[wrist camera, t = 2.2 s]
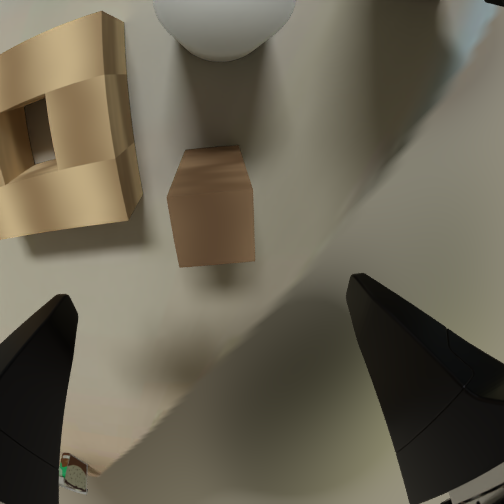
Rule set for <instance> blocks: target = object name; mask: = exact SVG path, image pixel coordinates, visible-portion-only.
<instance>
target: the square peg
mask: <svg viewBox="0 0 504 504" xmlns="http://www.w3.org/2000/svg"><path fill="white" fill-rule="evenodd" d="M167 203H168V209H169V214H170V220H171V226H172V231H173V237H174V242H175V247H176V252H177V257H178V262H179V267H180V268H181V267H193V266H205V265H217V264H228V263H240V262H251V261H255V242H254V208H253V188H252V185H251V182H250V179H249V176H248V173H247V170H246V167H245V163H244V160H243V157H242V154H241V151H240V148H239V145H234V146H221V147H209V148H198V149H188V150H185V152H184V155H183V157H182V160H181V162H180V164H179V167H178V169H177V172H176V174H175V177H174V180H173V182H172V185H171V187H170V190H169V193H168V195H167Z"/></svg>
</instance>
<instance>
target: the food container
mask: <svg viewBox="0 0 504 504" xmlns="http://www.w3.org/2000/svg"><path fill="white" fill-rule="evenodd" d="M87 470H88V464H86V463H84V462H83V461H81V460H79V459H78V458H76V457H75V456H73V455H72V454H70V453H63V455H62V459H61V463H60V467H59V486H61V487H64V488H66V489H69V490H72V491H75V492H78V493H82V494H85V495H86V494H87V492H88V489H87Z"/></svg>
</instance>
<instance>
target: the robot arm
mask: <svg viewBox="0 0 504 504" xmlns="http://www.w3.org/2000/svg"><path fill="white" fill-rule="evenodd" d="M484 1H485V2H486V3H491V4H495V5H499V6H503V7H504V0H484ZM346 301H347V305H348V308H349V312H350V315H351V319H352V323H353V327H354V331H355V334H356V338H357V341H358V344H359V347H360V350H361V352H362V355H363V357H364V360H365V363H366V365H367V368H368V371H369V374H370V376H371V379H372V382H373V385H374V388H375V391H376V393H377V396H378V399H379V402H380V405H381V408H382V411H383V414H384V417H385V420H386V423H387V426H388V430H389V433H390V436H391V439H392V442H393V446H394V449H395V452H396V456H397V459H398V463H399V466H400V470H401V473H402V477H403V480H404V484H405V488H406V492H407V496H408V499H409V503H410V504H420V503H422V502H425V501H428V500H430V499H432V498H435V497H437V496H440V495H442V494H444V493H447V492H449V495H450V498H449V499H447V500H445V501H444V502H442V503H441V504H504V364H503V363H502V362H500V361H498V360H497V359H495V358H493V357H491V356H490V355H488V354H486V353H485V352H483V351H482V350H480V349H478V348H477V347H475V346H473V345H472V344H470V343H468V342H467V341H465V340H464V339H462V338H461V337H460V336H458V335H457V334H455V333H453V332H452V331H451V330H449V329H446V327H445V326H444V325H442V324H441V323H439V322H438V321H436V320H435V319H433V318H432V317H430V316H429V315H427V314H426V313H424V312H423V311H422V310H420V309H418V308H417V307H415V306H414V305H413V304H411V303H409V302H408V301H406V300H405V299H403V298H402V297H400V296H399V295H397V294H396V293H394V292H393V291H391V290H390V289H388V288H387V287H385V286H383V285H382V284H380V283H379V282H377V281H376V280H374V279H372V278H371V277H369V276H368V275H366V274H364V273H358V274H352V275H351V277H350V280H349V284H348V289H347V293H346ZM77 324H78V313H77V311H76V309H75V307H74V304H73V302H72V300H71V298H70V296H69V295H67V294H58V295H56V296H54V297H53V298H52V299H51V300H50V301H48V302H47V303H46V304H45V305H44V306H42V307H41V308H40V309H39V310H38V311H37V312H35V313H34V314H33V315H32V316H31V317H30V318H28V319H27V320H26V321H25V322H24V323H23V324H22V325H21V326H19V327H18V328H17V329H16V330H15V331H14V332H13V333H12V334H11V335H9V336H8V337H7V338H6V339H5V340H4V341H3V342H2V343H1V344H0V504H59V460H60V445H61V434H62V425H63V416H64V409H65V402H66V395H67V389H68V383H69V378H70V372H71V367H72V362H73V355H74V347H75V339H76V331H77Z"/></svg>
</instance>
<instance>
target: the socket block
mask: <svg viewBox="0 0 504 504" xmlns="http://www.w3.org/2000/svg"><path fill="white" fill-rule="evenodd" d="M44 98H46V104H47V112H48V119H49V125H50V131H51V137H52V142H53V147H54V152H55V157H56V159H53V160H50V161H46V162H42V163H39V164H36V165H35V164H34V159H33V155H32V150H31V145H30V140H29V135H28V129H27V123H26V117H25V110H24V106H26V105H28V104H31V103H33V102H36V101H38V100H41V99H44ZM142 195H143V191H142V186H141V180H140V175H139V169H138V163H137V157H136V150H135V143H134V136H133V129H132V121H131V113H130V104H129V94H128V84H127V72H126V57H125V37H124V22H122V21H121V20H119V19H117V18H115V17H113V16H111V15H109V14H107V13H105V12H103V11H100V12H96V13H93V14H90V15H87V16H84V17H81V18H78V19H76V20H73V21H70V22H67V23H65V24H62V25H60V26H57V27H55V28H53V29H50V30H48V31H46V32H43V33H41V34H39V35H37V36H35V37H32V38H30V39H28V40H26V41H24V42H22V43H20V44H18V45H17V46H15V47H13V48H11V49H9V50H7V51H6V52H4V53H2V54H0V240H2V239H7V238H13V237H19V236H24V235H30V234H37V233H43V232H49V231H56V230H62V229H69V228H76V227H83V226H91V225H98V224H106V223H114V222H122V221H128V220H129V219H130V217H131V215H132V213H133V211H134V209H135V207H136V206H137V204H138V202H139V200H140V198H141V196H142Z"/></svg>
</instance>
